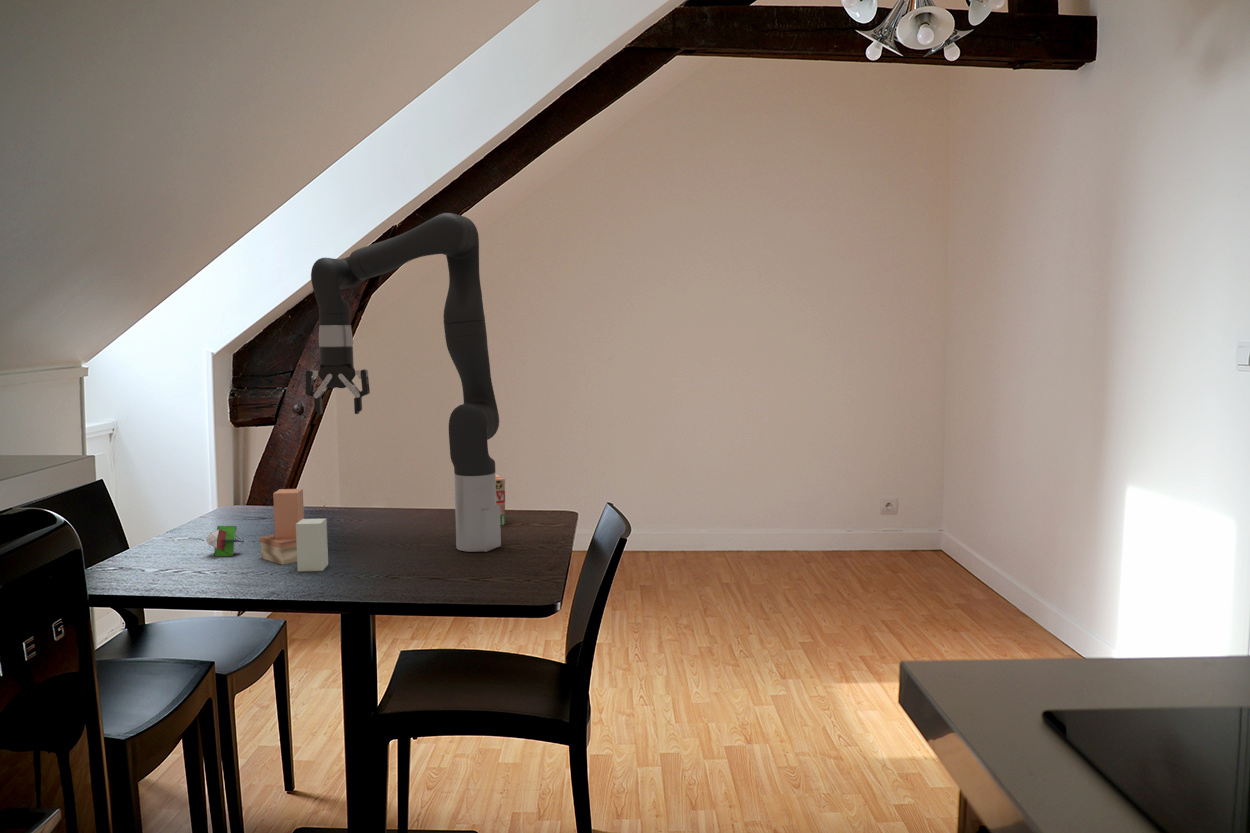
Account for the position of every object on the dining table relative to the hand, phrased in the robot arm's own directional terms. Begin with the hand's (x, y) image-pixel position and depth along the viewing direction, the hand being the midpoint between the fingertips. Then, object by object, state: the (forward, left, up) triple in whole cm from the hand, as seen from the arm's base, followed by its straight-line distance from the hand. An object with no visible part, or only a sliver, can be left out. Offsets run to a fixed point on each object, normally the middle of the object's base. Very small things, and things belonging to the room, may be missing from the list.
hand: (338, 413), depth 215 cm
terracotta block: (-1, +18, -25) cm, 31 cm away
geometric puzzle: (+14, +22, -30) cm, 40 cm away
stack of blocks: (-17, -33, -30) cm, 48 cm away
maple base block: (-1, +18, -30) cm, 35 cm away
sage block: (-12, +23, -30) cm, 40 cm away
